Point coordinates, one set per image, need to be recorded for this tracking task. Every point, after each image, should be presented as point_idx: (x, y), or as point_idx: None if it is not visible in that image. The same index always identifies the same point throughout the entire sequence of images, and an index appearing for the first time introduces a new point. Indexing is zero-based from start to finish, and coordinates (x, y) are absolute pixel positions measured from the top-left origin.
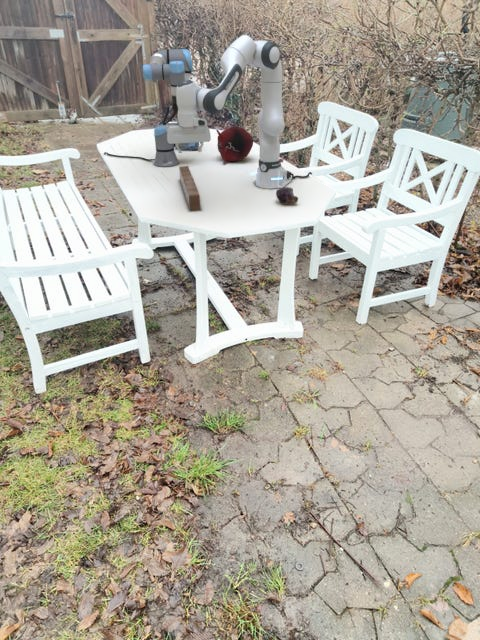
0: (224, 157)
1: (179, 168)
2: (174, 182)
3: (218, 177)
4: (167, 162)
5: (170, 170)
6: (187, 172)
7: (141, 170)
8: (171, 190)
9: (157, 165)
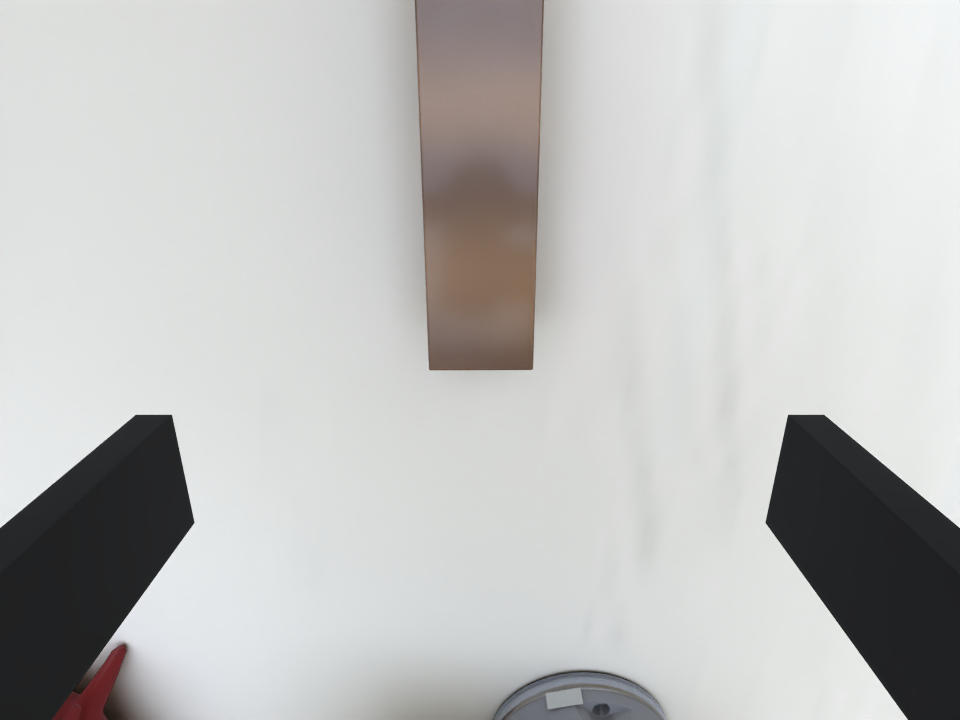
0: (90, 703)
1: (533, 328)
2: (584, 265)
3: (159, 324)
4: (583, 701)
5: (570, 587)
6: (459, 101)
7: (795, 629)
8: (654, 3)
9: (655, 701)
